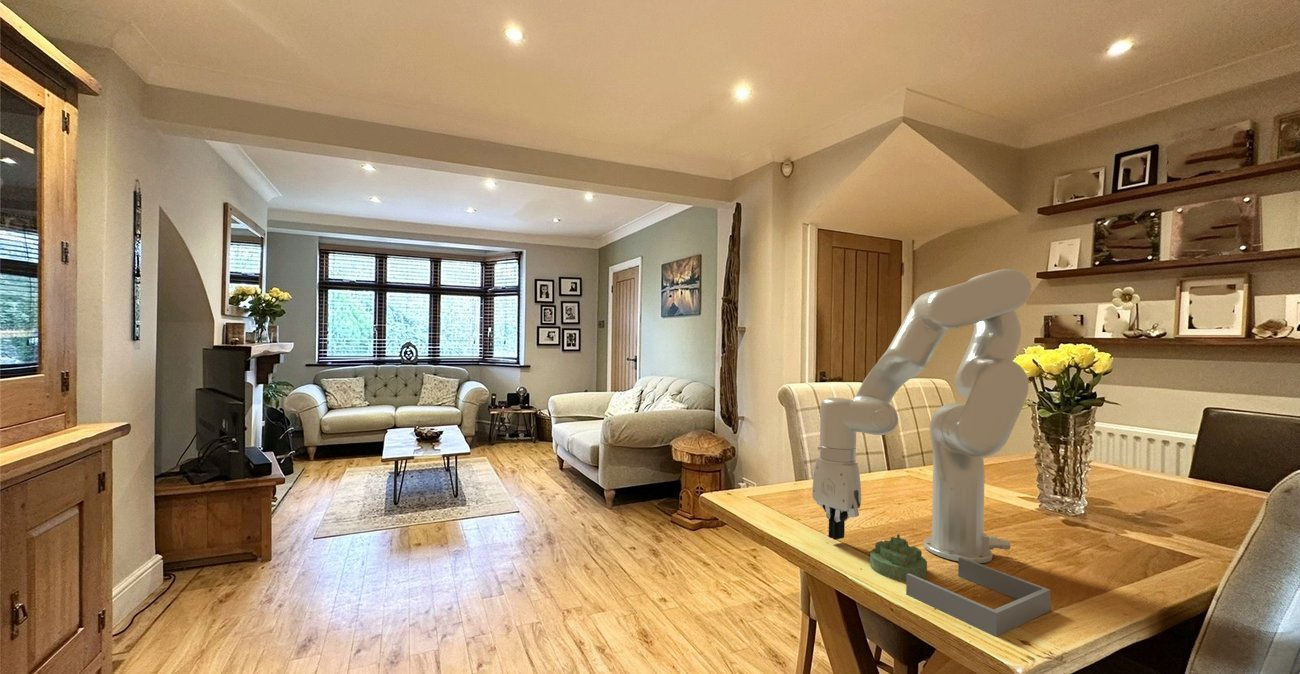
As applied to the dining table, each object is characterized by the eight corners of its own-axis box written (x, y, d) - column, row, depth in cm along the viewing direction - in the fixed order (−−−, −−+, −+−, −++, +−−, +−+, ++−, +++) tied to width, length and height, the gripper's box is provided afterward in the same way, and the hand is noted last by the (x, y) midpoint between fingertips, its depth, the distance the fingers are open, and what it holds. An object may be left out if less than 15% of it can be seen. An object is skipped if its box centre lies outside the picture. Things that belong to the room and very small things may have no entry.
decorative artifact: (937, 583, 96) (911, 560, 106) (937, 545, 96) (912, 526, 106) (882, 581, 96) (862, 559, 106) (883, 543, 96) (862, 524, 106)
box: (906, 594, 91) (906, 574, 91) (960, 575, 99) (961, 556, 99) (996, 636, 78) (996, 613, 78) (1050, 610, 86) (1050, 589, 86)
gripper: (800, 449, 119) (799, 529, 119) (854, 463, 106) (852, 553, 106) (823, 446, 123) (822, 524, 122) (878, 459, 110) (877, 546, 109)
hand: (836, 537), depth 114 cm, fingers closed
